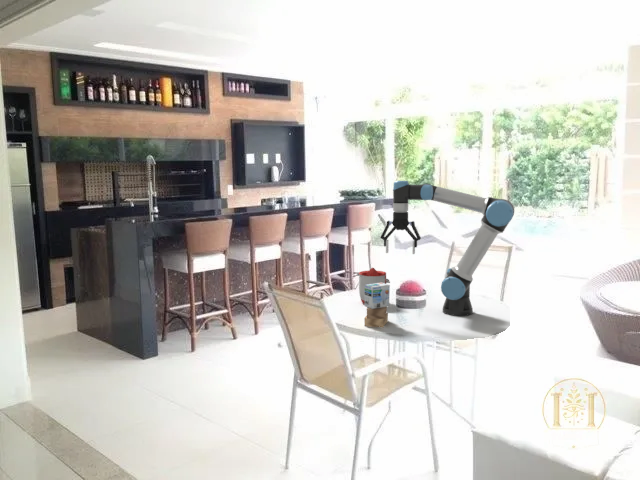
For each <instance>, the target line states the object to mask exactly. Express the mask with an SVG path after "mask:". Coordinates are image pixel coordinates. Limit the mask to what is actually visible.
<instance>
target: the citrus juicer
mask: <svg viewBox="0 0 640 480" xmlns="http://www.w3.org/2000/svg"><path fill="white" fill-rule="evenodd" d="M381 282H382V283H385V284H391V281H390V279H389V278H387V272H386V271H382V270H376V268H374V267H370V269H369V270H362V271H359V272H358V293H359V298H360V302H361V303H362V304H364V305H365V285H367V284H374V283H381Z"/></svg>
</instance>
